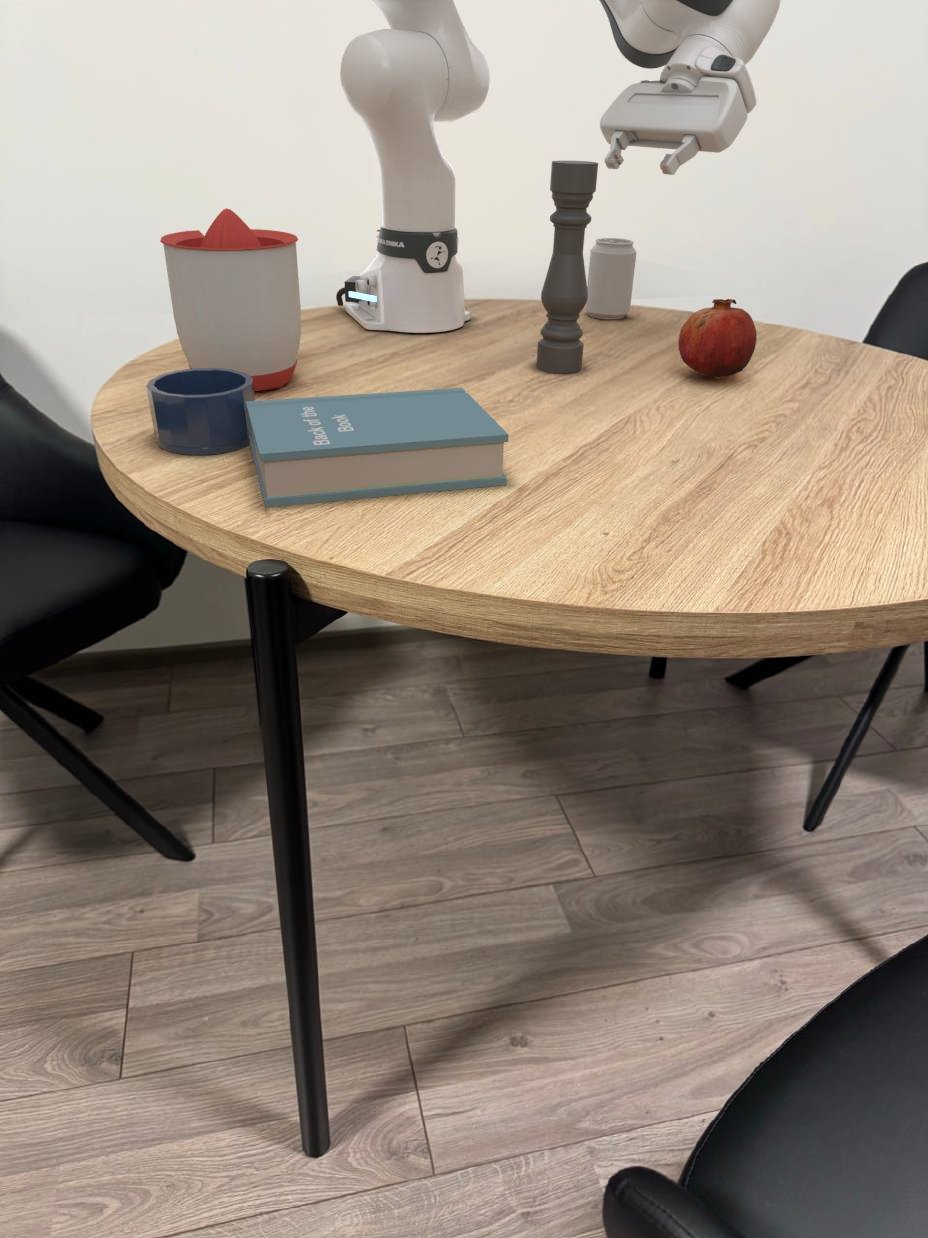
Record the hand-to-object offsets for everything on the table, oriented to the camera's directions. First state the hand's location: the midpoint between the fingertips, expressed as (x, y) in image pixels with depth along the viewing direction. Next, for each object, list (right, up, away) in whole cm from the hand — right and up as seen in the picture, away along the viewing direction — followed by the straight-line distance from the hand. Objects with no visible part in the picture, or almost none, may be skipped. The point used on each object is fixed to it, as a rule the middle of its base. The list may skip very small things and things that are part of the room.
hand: (637, 167), depth 114 cm
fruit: (+11, -26, +4) cm, 29 cm away
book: (-32, -44, -27) cm, 60 cm away
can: (+2, -7, +35) cm, 35 cm away
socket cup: (-50, -40, -21) cm, 67 cm away
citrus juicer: (-51, -29, -3) cm, 58 cm away
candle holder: (-10, -25, +6) cm, 27 cm away
